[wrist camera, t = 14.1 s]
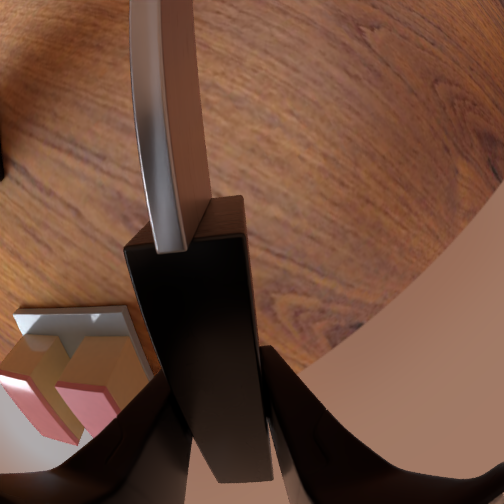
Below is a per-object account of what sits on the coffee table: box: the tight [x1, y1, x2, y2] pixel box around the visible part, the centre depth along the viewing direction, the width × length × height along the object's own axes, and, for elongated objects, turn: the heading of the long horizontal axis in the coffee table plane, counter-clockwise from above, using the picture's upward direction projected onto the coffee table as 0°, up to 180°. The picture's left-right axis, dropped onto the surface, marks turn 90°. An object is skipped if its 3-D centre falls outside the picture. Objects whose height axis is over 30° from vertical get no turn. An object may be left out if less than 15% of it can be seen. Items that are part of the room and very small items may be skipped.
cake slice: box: [55, 336, 149, 438], centre depth 17 cm, size 8×4×6 cm, turn 6°
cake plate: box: [0, 305, 154, 446], centre depth 18 cm, size 12×12×7 cm
